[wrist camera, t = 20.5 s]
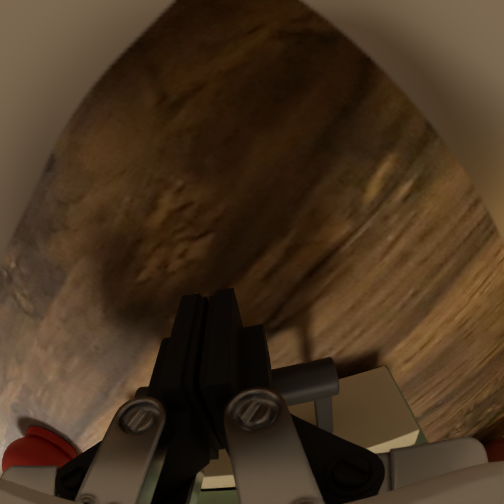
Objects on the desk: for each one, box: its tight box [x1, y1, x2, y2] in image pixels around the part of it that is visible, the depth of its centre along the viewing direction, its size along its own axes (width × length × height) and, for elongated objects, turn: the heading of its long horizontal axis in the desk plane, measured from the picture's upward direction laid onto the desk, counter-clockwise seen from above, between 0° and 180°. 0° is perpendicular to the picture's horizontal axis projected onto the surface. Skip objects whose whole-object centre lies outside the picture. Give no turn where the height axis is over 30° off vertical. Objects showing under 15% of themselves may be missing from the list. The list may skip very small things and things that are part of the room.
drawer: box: [135, 357, 419, 492], centre depth 13 cm, size 17×13×4 cm
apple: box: [2, 426, 77, 472], centre depth 14 cm, size 6×6×7 cm
